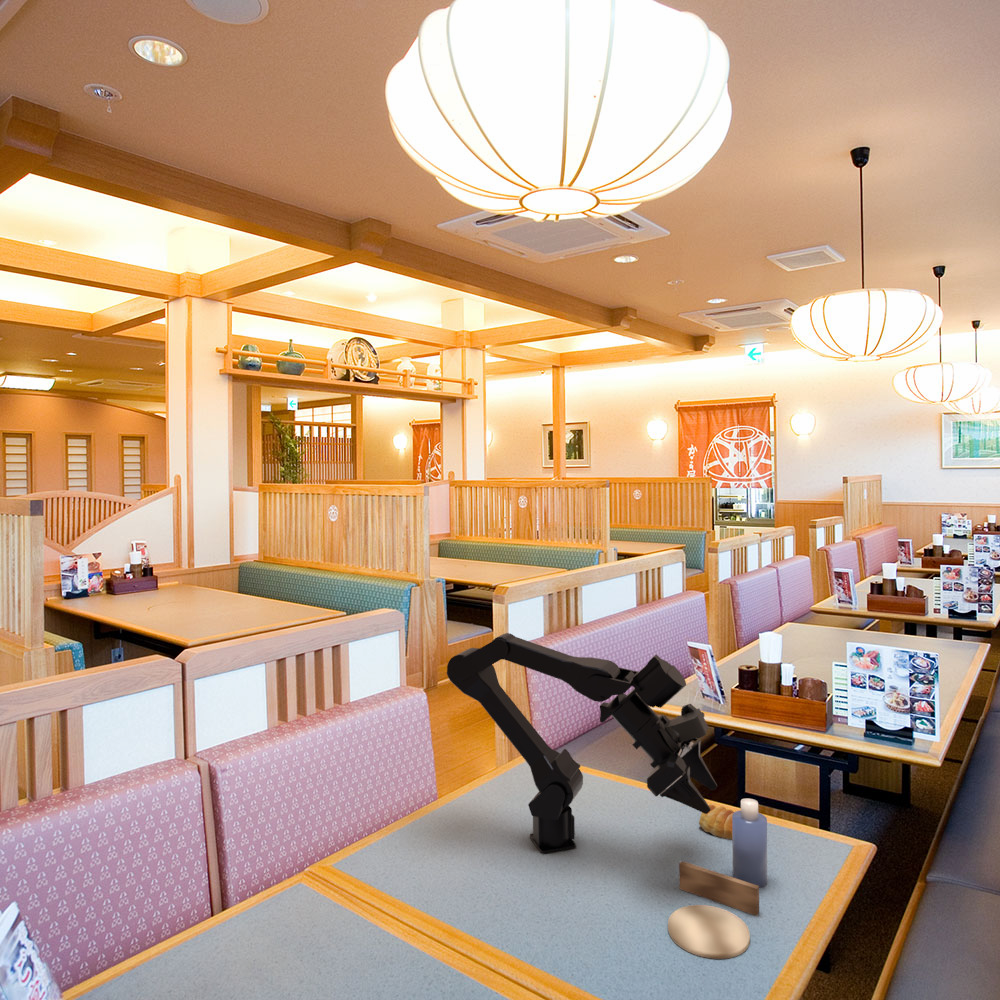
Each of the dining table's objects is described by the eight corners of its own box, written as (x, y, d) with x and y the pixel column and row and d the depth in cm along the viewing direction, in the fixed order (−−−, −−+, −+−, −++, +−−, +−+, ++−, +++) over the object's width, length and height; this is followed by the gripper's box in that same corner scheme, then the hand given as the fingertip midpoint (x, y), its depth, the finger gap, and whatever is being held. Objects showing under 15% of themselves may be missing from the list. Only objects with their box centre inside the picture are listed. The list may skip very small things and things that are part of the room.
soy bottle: (746, 891, 113) (745, 811, 113) (726, 874, 118) (725, 797, 118) (774, 885, 114) (773, 806, 114) (753, 868, 119) (753, 793, 119)
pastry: (761, 834, 131) (761, 813, 131) (744, 848, 126) (743, 827, 126) (713, 818, 138) (712, 798, 138) (695, 831, 133) (694, 810, 133)
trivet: (695, 966, 96) (695, 960, 96) (653, 918, 106) (653, 913, 106) (766, 949, 99) (766, 943, 99) (719, 904, 110) (719, 899, 110)
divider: (679, 888, 114) (679, 863, 114) (682, 886, 115) (681, 860, 115) (757, 916, 107) (756, 889, 106) (759, 912, 107) (759, 885, 107)
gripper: (667, 710, 111) (744, 793, 107) (685, 679, 128) (752, 749, 124) (616, 755, 114) (690, 837, 110) (641, 718, 132) (705, 788, 128)
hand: (712, 799), depth 118 cm, fingers open, 9 cm apart
